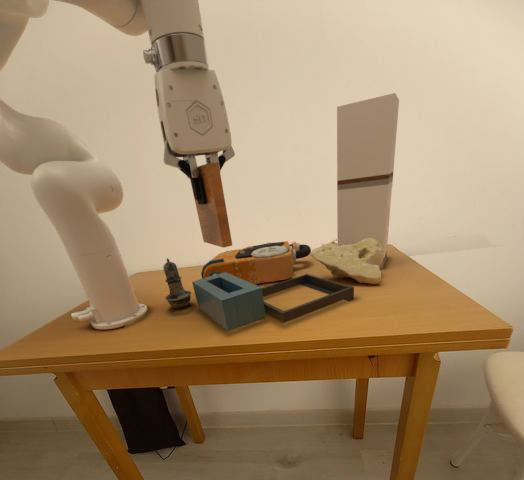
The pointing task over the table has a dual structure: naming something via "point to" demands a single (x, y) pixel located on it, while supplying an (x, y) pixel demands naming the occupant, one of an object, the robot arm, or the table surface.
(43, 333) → the table surface
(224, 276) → the blue-grey slotted box
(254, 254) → the device
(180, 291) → the dark stone tower figurine
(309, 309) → the dark rectangular frame
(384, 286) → the table surface
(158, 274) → the table surface
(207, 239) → the wooden plank block
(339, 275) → the beige rock
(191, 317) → the table surface
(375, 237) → the refrigerator
